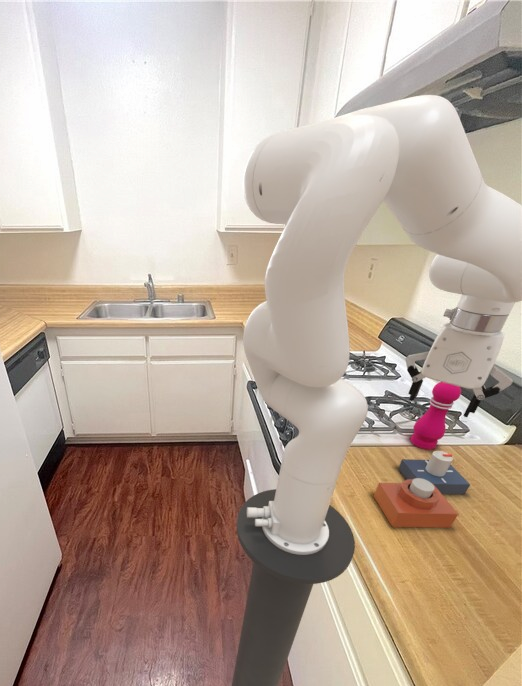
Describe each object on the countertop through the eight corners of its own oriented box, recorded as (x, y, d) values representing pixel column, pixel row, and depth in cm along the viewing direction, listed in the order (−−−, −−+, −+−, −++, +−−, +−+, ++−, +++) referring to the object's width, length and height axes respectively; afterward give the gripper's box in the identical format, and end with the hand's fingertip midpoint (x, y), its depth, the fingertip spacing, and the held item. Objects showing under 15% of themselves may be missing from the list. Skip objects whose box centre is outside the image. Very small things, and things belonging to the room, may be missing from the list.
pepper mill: (431, 437, 99) (462, 372, 88) (441, 452, 93) (476, 384, 82) (404, 434, 100) (431, 369, 89) (413, 449, 94) (443, 381, 83)
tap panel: (417, 493, 79) (422, 483, 77) (398, 468, 86) (402, 458, 85) (464, 494, 79) (471, 484, 77) (441, 469, 87) (446, 459, 85)
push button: (415, 498, 70) (418, 491, 68) (405, 485, 73) (408, 477, 72) (434, 498, 70) (438, 491, 68) (423, 485, 73) (427, 478, 72)
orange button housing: (392, 526, 70) (402, 505, 67) (373, 495, 78) (381, 475, 75) (450, 527, 71) (463, 506, 67) (426, 496, 78) (436, 476, 75)
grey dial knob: (431, 476, 79) (439, 460, 77) (421, 465, 83) (429, 449, 80) (448, 476, 79) (457, 460, 77) (438, 465, 83) (446, 449, 80)
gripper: (417, 315, 63) (387, 398, 73) (539, 336, 53) (487, 429, 63) (428, 308, 68) (399, 387, 77) (542, 326, 58) (493, 414, 68)
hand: (438, 406), depth 70 cm, fingers open, 9 cm apart
